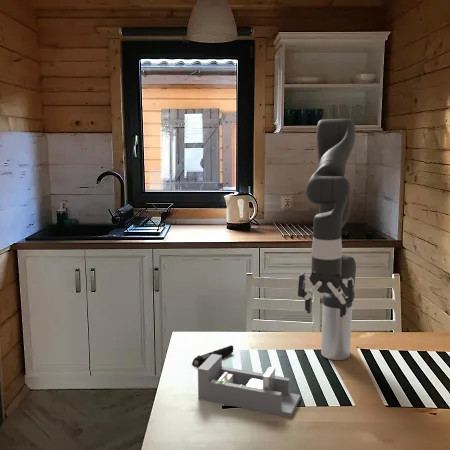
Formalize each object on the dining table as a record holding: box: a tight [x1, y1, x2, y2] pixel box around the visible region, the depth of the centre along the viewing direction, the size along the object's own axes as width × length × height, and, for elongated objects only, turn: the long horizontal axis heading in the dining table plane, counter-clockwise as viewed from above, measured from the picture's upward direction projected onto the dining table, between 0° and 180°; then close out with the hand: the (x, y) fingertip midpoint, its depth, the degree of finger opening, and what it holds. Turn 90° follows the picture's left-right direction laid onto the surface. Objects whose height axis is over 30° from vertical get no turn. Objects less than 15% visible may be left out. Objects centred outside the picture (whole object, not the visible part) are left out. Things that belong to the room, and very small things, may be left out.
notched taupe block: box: [246, 366, 276, 391], centre depth 144 cm, size 6×7×8 cm
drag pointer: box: [218, 372, 233, 383], centre depth 147 cm, size 8×2×5 cm, turn 159°
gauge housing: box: [197, 354, 301, 418], centre depth 146 cm, size 10×26×9 cm, turn 69°
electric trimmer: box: [191, 344, 234, 369], centre depth 171 cm, size 4×16×3 cm, turn 130°
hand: (325, 314), depth 140 cm, fingers open, 8 cm apart
